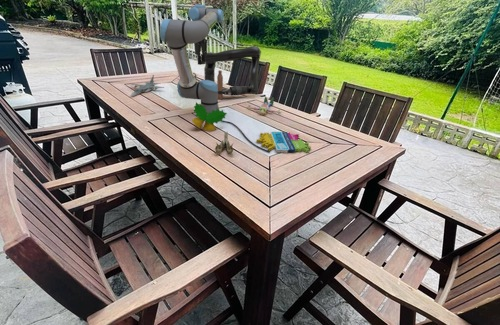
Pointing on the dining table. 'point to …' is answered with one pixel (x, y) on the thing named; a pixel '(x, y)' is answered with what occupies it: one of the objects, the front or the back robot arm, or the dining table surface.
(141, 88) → the airplane
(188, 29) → the front robot arm
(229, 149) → the jawbone
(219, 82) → the bottle
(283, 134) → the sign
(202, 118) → the ornament
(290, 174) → the dining table surface
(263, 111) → the toy
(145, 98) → the dining table surface
